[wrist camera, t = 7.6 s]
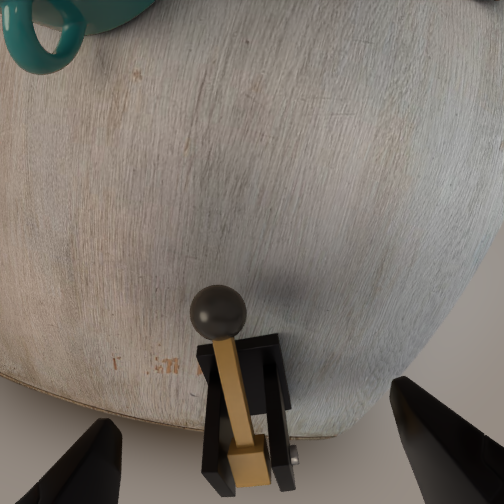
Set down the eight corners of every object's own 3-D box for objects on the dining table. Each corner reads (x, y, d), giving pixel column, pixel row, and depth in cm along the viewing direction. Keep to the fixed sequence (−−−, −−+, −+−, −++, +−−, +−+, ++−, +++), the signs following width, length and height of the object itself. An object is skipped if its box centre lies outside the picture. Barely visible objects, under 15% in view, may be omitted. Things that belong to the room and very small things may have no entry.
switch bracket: (197, 345, 23) (181, 460, 14) (277, 332, 22) (295, 449, 13) (223, 408, 26) (221, 505, 17) (290, 399, 26) (305, 496, 17)
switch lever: (192, 288, 19) (177, 291, 16) (243, 279, 19) (237, 280, 16) (233, 466, 18) (227, 492, 15) (278, 461, 18) (279, 487, 15)
